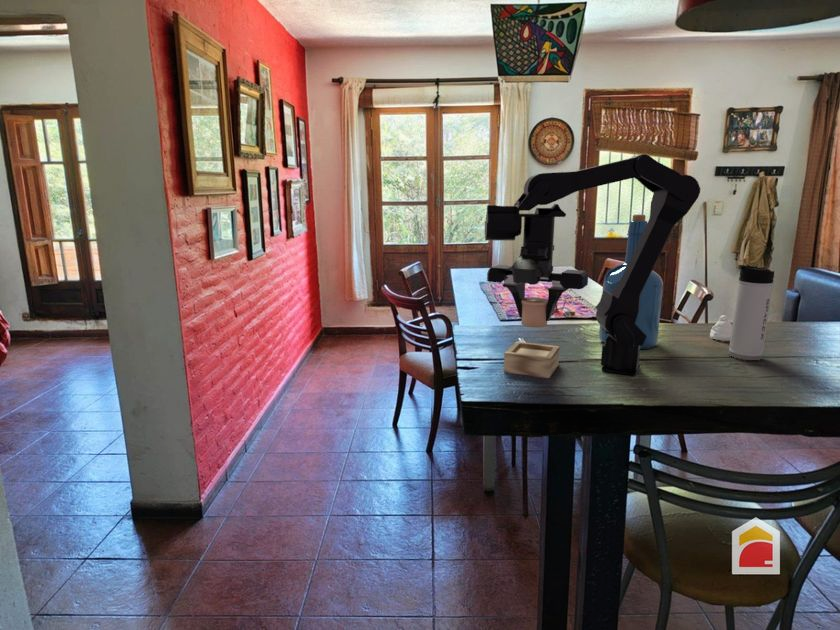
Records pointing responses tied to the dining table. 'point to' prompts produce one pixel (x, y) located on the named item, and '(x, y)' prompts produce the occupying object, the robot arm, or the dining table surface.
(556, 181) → the robot arm
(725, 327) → the garlic bulb
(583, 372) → the dining table surface
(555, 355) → the oak riser block
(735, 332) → the travel mug
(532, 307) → the terracotta cup
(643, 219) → the blue bottle
